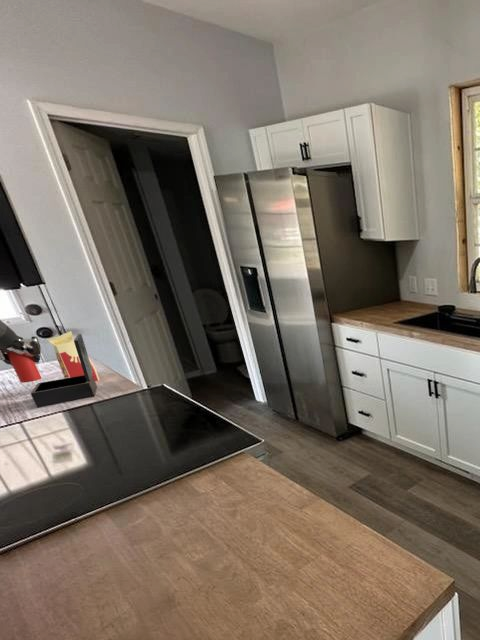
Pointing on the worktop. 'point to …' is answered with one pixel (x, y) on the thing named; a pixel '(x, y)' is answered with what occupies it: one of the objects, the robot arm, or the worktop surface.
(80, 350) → the lid
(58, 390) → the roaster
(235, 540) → the worktop surface
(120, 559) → the worktop surface
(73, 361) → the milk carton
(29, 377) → the red capped cylinder
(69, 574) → the worktop surface
